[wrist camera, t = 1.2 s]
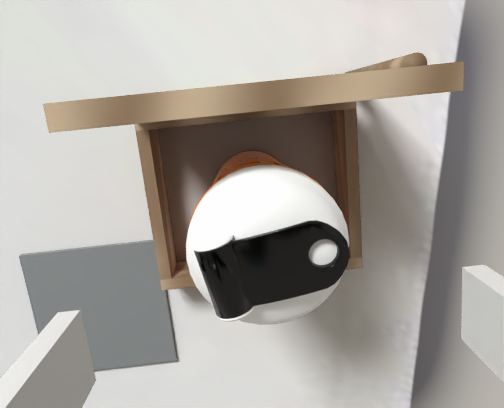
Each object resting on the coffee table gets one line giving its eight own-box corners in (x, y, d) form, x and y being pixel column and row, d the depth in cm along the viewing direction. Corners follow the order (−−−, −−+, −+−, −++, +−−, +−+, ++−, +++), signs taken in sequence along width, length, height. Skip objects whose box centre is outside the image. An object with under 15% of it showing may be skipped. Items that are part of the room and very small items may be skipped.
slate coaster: (50, 373, 43) (48, 375, 42) (21, 254, 39) (19, 255, 39) (176, 358, 43) (176, 360, 42) (157, 239, 40) (157, 240, 39)
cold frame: (168, 272, 41) (111, 426, 21) (139, 92, 37) (37, 79, 17) (361, 251, 41) (479, 381, 22) (355, 71, 37) (491, 34, 18)
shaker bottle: (313, 209, 40) (393, 308, 20) (230, 248, 40) (230, 381, 21) (275, 123, 38) (322, 143, 18) (187, 166, 38) (143, 229, 19)
